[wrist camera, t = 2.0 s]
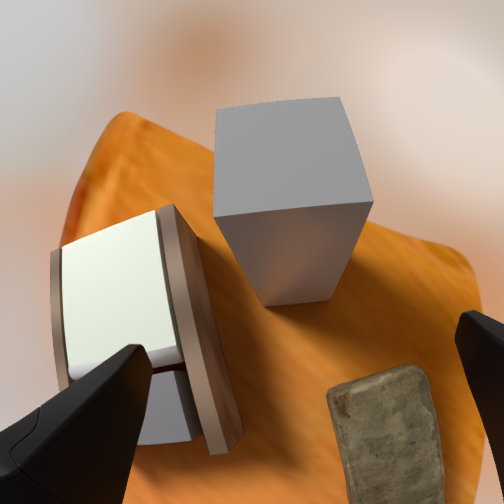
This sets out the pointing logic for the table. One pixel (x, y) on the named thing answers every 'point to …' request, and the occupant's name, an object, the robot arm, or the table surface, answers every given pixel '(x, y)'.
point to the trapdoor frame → (190, 330)
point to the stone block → (389, 438)
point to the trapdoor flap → (128, 318)
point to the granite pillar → (290, 195)
